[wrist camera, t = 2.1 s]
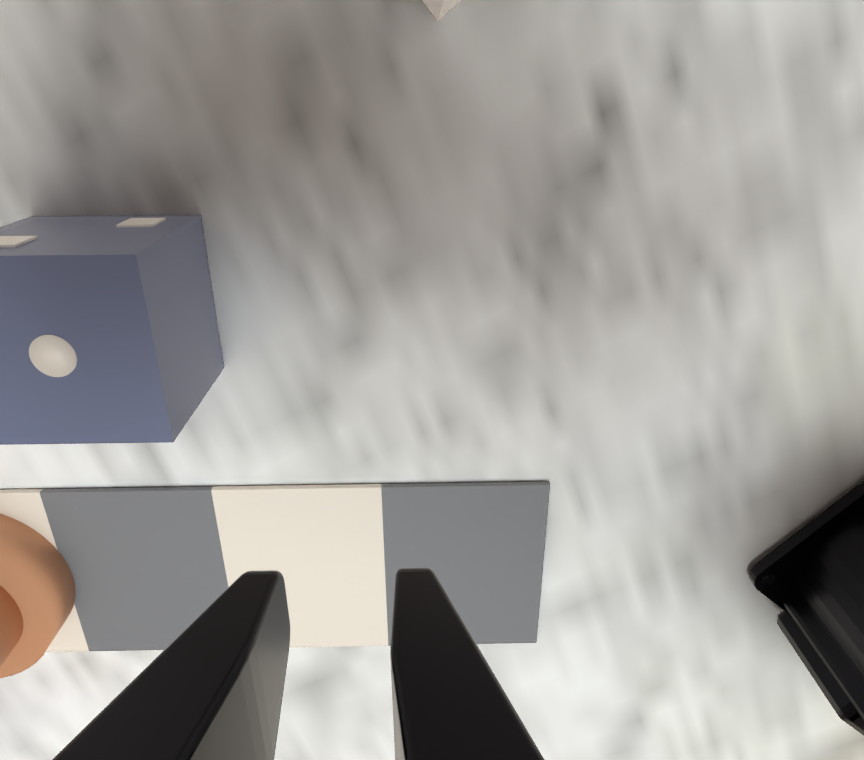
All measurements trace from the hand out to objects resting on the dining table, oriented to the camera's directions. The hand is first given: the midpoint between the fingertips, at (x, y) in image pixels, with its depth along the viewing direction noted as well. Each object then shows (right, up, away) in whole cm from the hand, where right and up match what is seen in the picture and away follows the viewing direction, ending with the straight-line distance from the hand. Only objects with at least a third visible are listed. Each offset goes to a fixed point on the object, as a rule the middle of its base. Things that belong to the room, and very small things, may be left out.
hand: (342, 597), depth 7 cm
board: (-9, -4, +15) cm, 18 cm away
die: (-7, +5, +11) cm, 14 cm away
